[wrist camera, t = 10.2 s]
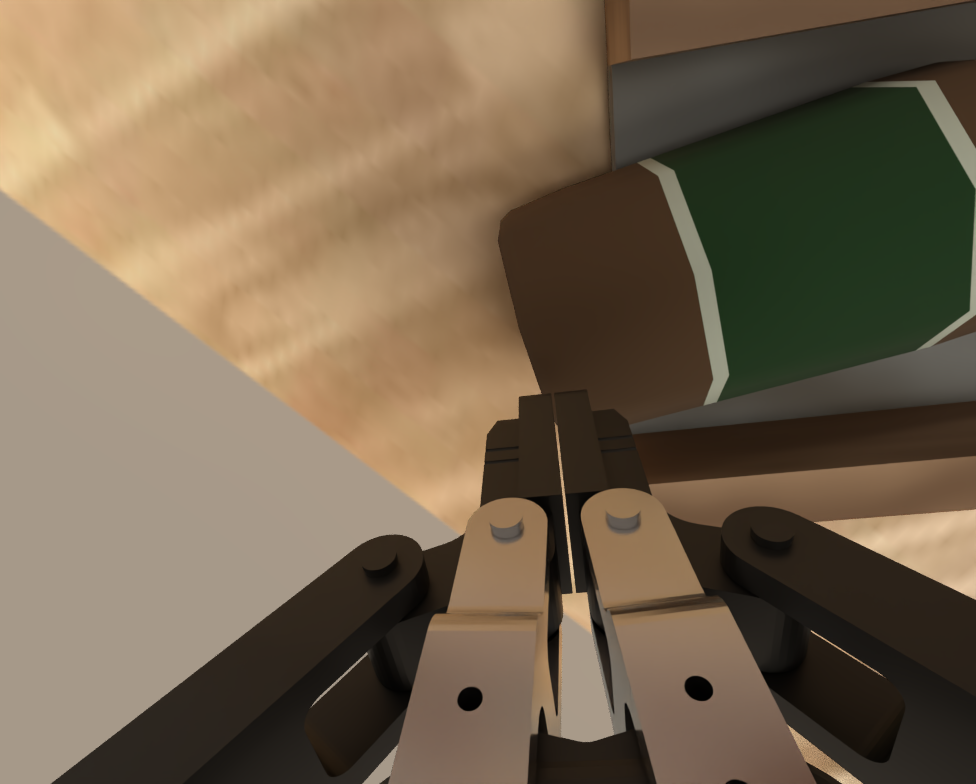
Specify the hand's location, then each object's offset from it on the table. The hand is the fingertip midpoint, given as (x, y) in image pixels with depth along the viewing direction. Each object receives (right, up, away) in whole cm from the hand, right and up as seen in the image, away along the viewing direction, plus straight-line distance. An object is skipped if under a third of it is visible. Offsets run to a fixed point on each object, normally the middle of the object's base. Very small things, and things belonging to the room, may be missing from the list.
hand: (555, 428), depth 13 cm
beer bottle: (0, +3, +6) cm, 6 cm away
